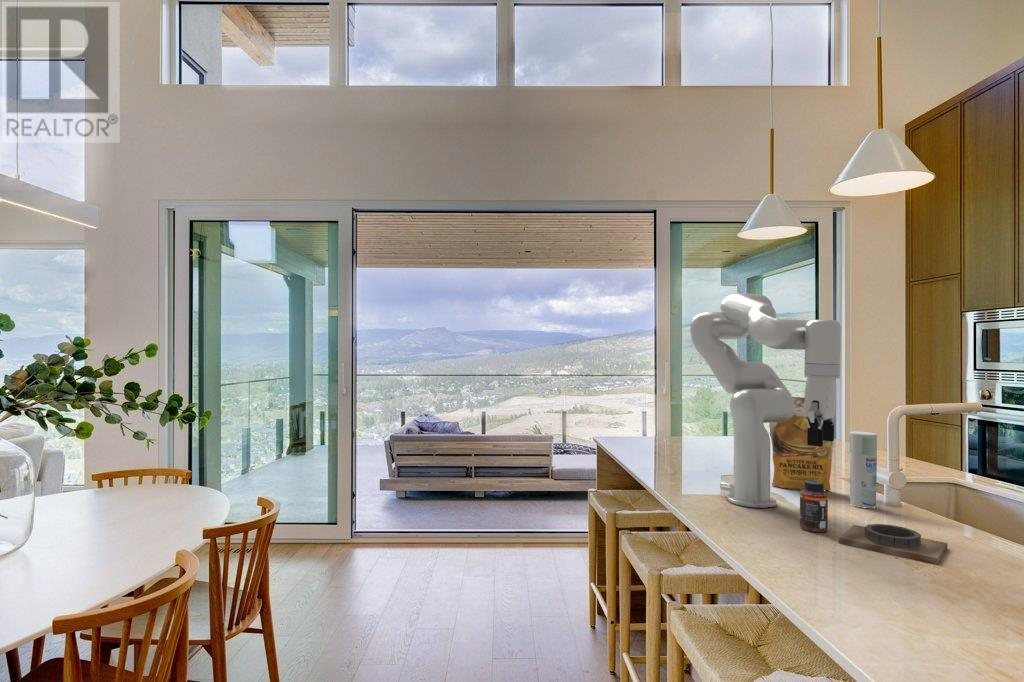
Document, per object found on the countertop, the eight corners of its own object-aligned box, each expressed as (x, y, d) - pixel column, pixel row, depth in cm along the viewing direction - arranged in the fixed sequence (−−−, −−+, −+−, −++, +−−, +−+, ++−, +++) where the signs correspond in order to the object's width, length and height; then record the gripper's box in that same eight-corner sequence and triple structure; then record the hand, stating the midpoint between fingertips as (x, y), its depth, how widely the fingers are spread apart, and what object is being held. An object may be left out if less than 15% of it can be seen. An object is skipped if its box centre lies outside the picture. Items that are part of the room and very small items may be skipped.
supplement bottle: (831, 534, 136) (831, 485, 136) (803, 532, 137) (804, 484, 137) (823, 526, 142) (823, 479, 142) (796, 524, 143) (796, 478, 143)
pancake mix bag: (765, 482, 187) (766, 395, 187) (832, 488, 180) (833, 397, 181) (767, 487, 180) (768, 397, 180) (837, 493, 174) (837, 399, 174)
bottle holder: (838, 542, 130) (838, 528, 130) (853, 529, 139) (853, 516, 139) (937, 564, 117) (937, 548, 117) (947, 548, 127) (947, 533, 127)
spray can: (866, 510, 156) (866, 435, 156) (843, 503, 162) (844, 431, 162) (882, 507, 159) (882, 434, 159) (859, 501, 165) (859, 430, 165)
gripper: (815, 369, 148) (814, 437, 148) (793, 371, 135) (792, 445, 135) (848, 371, 143) (847, 440, 143) (829, 373, 130) (828, 450, 130)
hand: (820, 443), depth 139 cm, fingers open, 9 cm apart
